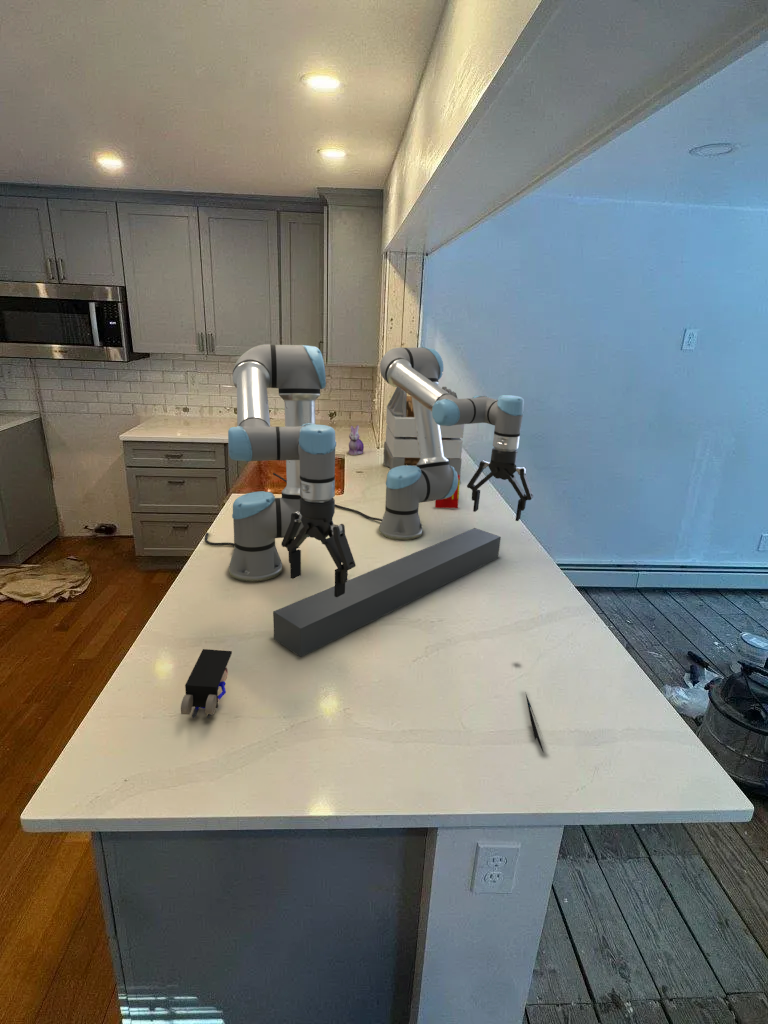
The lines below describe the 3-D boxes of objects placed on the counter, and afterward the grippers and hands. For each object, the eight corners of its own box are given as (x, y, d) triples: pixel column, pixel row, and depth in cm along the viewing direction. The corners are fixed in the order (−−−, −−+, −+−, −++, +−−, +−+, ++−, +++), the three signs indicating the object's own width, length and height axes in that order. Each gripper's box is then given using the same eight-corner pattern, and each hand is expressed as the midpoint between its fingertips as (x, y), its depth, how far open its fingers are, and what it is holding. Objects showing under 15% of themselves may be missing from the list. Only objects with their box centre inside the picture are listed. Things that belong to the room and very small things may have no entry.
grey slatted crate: (382, 463, 289) (386, 382, 275) (445, 464, 293) (451, 384, 279) (390, 482, 257) (394, 392, 243) (460, 483, 261) (468, 394, 247)
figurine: (351, 455, 300) (352, 427, 295) (343, 451, 309) (344, 424, 304) (367, 454, 304) (368, 426, 299) (359, 450, 313) (360, 423, 308)
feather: (517, 669, 129) (522, 662, 128) (543, 757, 102) (550, 750, 102) (511, 665, 129) (516, 659, 128) (535, 752, 102) (542, 745, 101)
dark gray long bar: (472, 548, 191) (474, 527, 188) (498, 557, 184) (500, 536, 182) (273, 639, 134) (273, 611, 132) (300, 657, 128) (300, 628, 125)
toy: (452, 466, 252) (464, 476, 223) (451, 496, 255) (462, 509, 226) (425, 465, 252) (433, 475, 222) (424, 495, 254) (431, 508, 225)
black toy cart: (217, 731, 106) (235, 675, 120) (214, 701, 103) (232, 647, 116) (181, 730, 106) (203, 674, 119) (176, 700, 103) (199, 646, 116)
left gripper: (264, 489, 127) (267, 575, 134) (350, 515, 113) (348, 609, 120) (288, 482, 132) (290, 564, 140) (373, 506, 119) (370, 596, 126)
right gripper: (461, 444, 171) (454, 510, 178) (544, 458, 161) (533, 527, 168) (469, 439, 177) (462, 503, 185) (549, 452, 167) (539, 519, 174)
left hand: (317, 585), depth 130 cm, fingers open, 13 cm apart
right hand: (496, 515), depth 176 cm, fingers open, 13 cm apart
